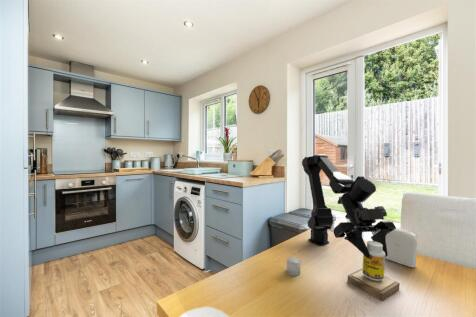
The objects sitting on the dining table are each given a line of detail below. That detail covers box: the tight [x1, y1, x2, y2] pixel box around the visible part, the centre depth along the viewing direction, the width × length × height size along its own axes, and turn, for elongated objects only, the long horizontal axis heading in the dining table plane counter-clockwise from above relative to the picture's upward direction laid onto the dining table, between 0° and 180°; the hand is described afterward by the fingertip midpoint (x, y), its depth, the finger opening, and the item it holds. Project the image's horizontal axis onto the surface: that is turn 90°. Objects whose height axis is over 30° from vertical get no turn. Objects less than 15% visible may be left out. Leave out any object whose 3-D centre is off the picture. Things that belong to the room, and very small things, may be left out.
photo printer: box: [385, 227, 418, 269], centre depth 82 cm, size 10×4×12 cm, turn 39°
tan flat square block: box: [346, 267, 400, 302], centre depth 67 cm, size 10×10×2 cm
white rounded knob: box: [286, 257, 302, 277], centre depth 73 cm, size 4×4×4 cm
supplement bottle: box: [361, 240, 386, 281], centre depth 67 cm, size 6×6×10 cm
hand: (377, 256), depth 65 cm, fingers closed on supplement bottle, 5 cm apart
